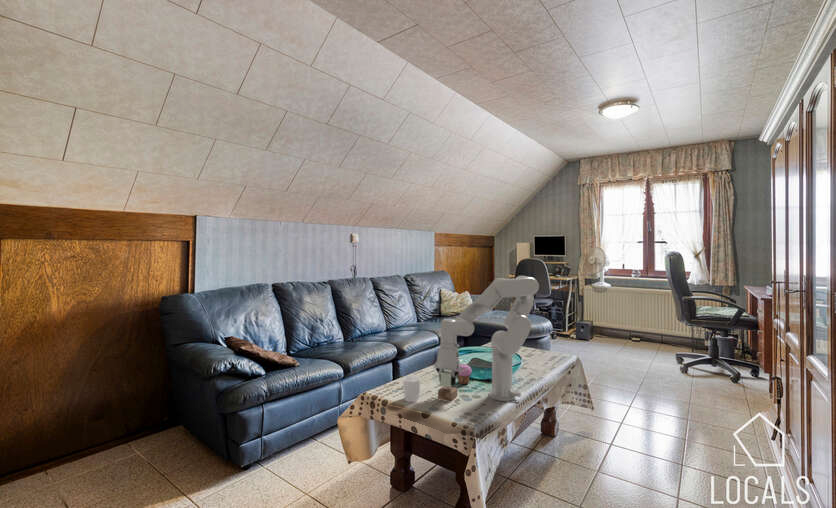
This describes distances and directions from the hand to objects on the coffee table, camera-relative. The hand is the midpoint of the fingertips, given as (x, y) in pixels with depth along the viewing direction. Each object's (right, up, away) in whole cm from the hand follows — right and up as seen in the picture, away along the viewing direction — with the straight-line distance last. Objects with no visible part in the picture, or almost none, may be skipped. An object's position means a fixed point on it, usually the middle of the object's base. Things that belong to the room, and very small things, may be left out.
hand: (447, 383), depth 186 cm
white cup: (-17, -7, -3) cm, 19 cm away
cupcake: (+10, -7, +22) cm, 25 cm away
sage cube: (0, -1, 0) cm, 1 cm away
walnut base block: (0, -7, 0) cm, 7 cm away
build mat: (0, -7, 0) cm, 7 cm away
